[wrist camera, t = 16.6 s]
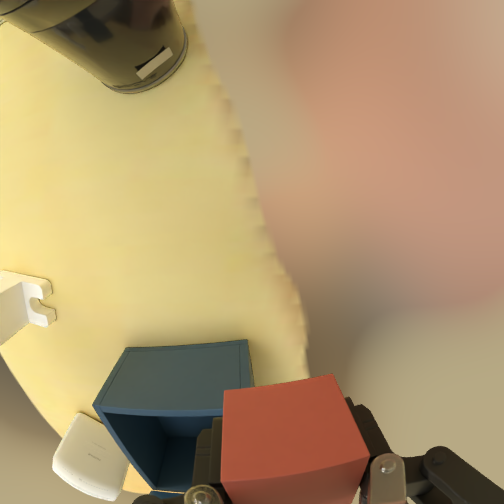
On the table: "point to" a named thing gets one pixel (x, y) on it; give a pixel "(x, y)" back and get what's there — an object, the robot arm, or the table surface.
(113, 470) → the photo printer
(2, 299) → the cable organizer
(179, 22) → the robot arm
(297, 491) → the block
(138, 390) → the box
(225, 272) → the table surface
